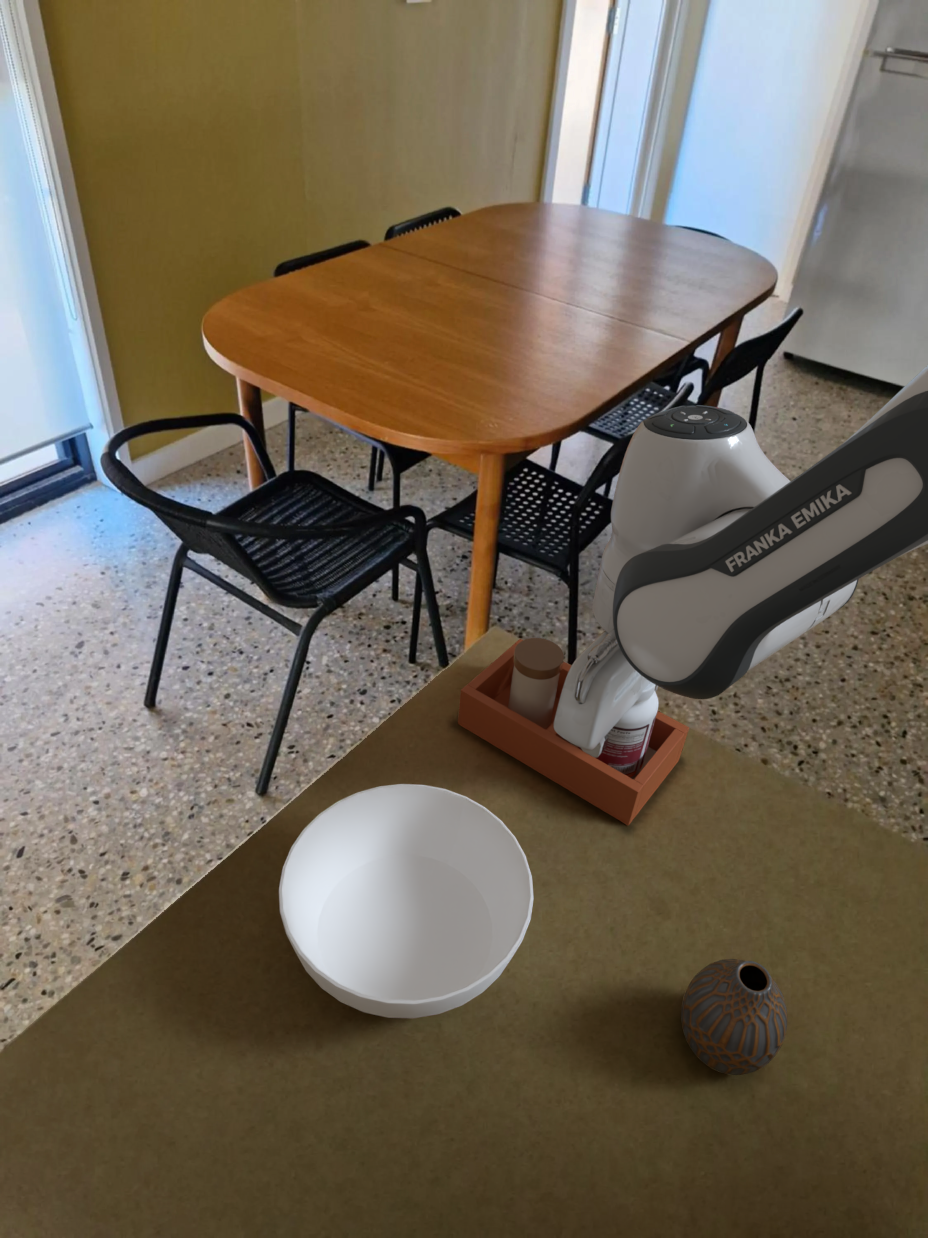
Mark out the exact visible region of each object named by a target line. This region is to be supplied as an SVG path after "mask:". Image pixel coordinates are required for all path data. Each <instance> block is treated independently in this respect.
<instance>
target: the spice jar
mask: <svg viewBox="0 0 928 1238" xmlns="http://www.w3.org/2000/svg"><path fill="white" fill-rule="evenodd" d="M522 640H523V641H521V642H520V643H519V644H518V645H517V646H516V648H515V651H514V658H513V663H514V666H513V673H512V680H511V687H510V695H509V702H508V708H509V709H510V710H512V711H514V712H516V713H517V714H519V715H521V716H523V717H524V718H526V719H528V720H530V721H531V722H533V723H535V724H537V725H538V726H540V727H542V728H544V729H545V728H547V727H548V726H549V724H550V723H551V719H552V714H553V709H554V703H555V698H556V692H557V687H558V682H559V676H560V671H561V670H562V666H563V661H565V660H564V659H565V655H564V654H565V653H564V651H563V649H562V648H561V646H559V645H558V644H557V643H556V642H555V641H552V640H549V639H548V638H543V637H529V638H526V639H522Z"/></svg>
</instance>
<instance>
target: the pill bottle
mask: <svg viewBox="0 0 928 1238" xmlns="http://www.w3.org/2000/svg"><path fill="white" fill-rule="evenodd" d="M655 686H656V685H655V684H653V683H652V682H651V683H650V684H649V685H648V686H647V687H646V688H645V689H644V690H643V691H642V693H641V696H640V697H639V699H638V700H637V701H636V702H635V703H634V704H633V706H632V707H631V708H630V709H629V710H628V711H627V712H626V713H625V715H624V716H623V717H622V718H621V719H620V720H619V721H618V722H617V723H616V725H615V726H614V727H613V728H612V729H611V730H610V731H609V732H608V733H607V735H609V739H608V742H607V747H606V748H605V749H604V751H603V752H602V753H601V754H600V755H599V756H598V757H597V758H596V759H598V760H600V761H602V762H603V763H605V764H607V765H609V766H610V767H612V768H614V769H616V770H617V771H619V772H621V773H623V774H624V775H626V776H628V777H630V778H631V779H632V778H633V777H635V776H636V775H637V774H638V773H639V771H640V770H641V767H642V765H643V762H644V758H645V755H646V751H647V748H648V744H649V740H650V737H651V733H652V729H653V726H654V722H655V718H656V715H657V711H659V697H658V694H657V691H656V692H655V691H654V690H655ZM578 748H579V749H581V748H580V747H578ZM581 750H582V749H581ZM582 751H583V750H582Z"/></svg>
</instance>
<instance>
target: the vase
mask: <svg viewBox="0 0 928 1238" xmlns="http://www.w3.org/2000/svg"><path fill="white" fill-rule="evenodd" d="M680 1009H681V1010H680V1021H681V1027H682V1031H683V1035H684V1038H685V1040H686V1042H687V1044H688V1047H689V1048H690V1049H691V1051H692V1052H693V1054H694V1055H695V1056H696V1057H697V1059H699V1060H700V1061H701V1062H702V1063H703V1064H704V1065H706V1066H707V1067H709V1068H711V1069H712V1070H714V1071H716V1072H718V1073H722V1074H726V1075H729V1076H745V1075H748V1074H751V1073H755V1072H757V1071H759V1070H761V1069H762V1068H764V1067H765V1066H767V1065H769V1063H771V1062H772V1060H773V1059H774V1058H775V1057H776V1056H777V1055H778V1053H779V1051H780V1050H781V1047H782V1046H783V1044H784V1041H785V1039H786V1035H787V1030H788V1008H787V1004H786V1000H785V997H784V995H783V993H782V990H781V988H780V987H779V985H778V984H777V982H776V981H775V979H774V978H773V977H772V976H771V974H770V973H769V971H768V970H767V968H766V967H765V966H764V965H762V964H761V963H758V962H756V961H754V960H743V959H738V958H724V959H720V960H716V961H714V962H711V963H710V964H707V965H706V966H705V967H703V968H702V969H700V970H699V971H698V972H697V973H696V974H695V975H694V976H693V977H692V979H691V980H690V982H689V984H688V986H687V987H686V990H685V992H684V994H683V998H682V1002H681V1007H680Z"/></svg>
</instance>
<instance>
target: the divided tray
mask: <svg viewBox="0 0 928 1238" xmlns="http://www.w3.org/2000/svg"><path fill="white" fill-rule="evenodd" d="M523 640H524V639H522V638H519V639H517V641H515V642H514V643H513V644H512V645H511V646H510V647H508V649H506V650H505V651H504V652H503V653H502V654H501V655H499V656H498V657H497V658H496V659H495V660H494V661H493V662H491V663H490V664H489V665H488V666H487V667H486V668H484V669H483V670H482V671H481V672H480V673H478V675H476V676H475V677H473V679H471V681H469V682H468V683H467V684H466V685H465V686H463V687H462V688H460V693H459V705H458V716H457V725H459V726H461V727H462V728H464V729H465V730H467V731H469V732H470V733H472V734H474V735H475V736H477V737H479V738H481V739H482V740H484V741H486V742H487V743H489V744H491V745H492V746H494V747H495V748H497V749H499V750H500V751H502V752H504V753H505V754H507V755H509V756H511V757H512V758H514V759H516V760H517V761H519V762H521V763H522V764H524V765H526V766H527V767H529V768H530V769H532V770H534V771H536V772H538V773H539V774H541V775H543V776H544V777H546V778H547V779H549V780H551V781H552V782H554V783H556V784H558V785H559V786H561V787H563V788H564V789H566V790H567V791H569V792H570V793H572V794H574V795H576V796H577V797H579V798H581V799H583V800H584V801H586V802H588V803H589V804H591V805H592V806H594V807H595V808H598V809H600V810H601V811H603V812H604V813H606V814H608V815H609V816H611V817H613V818H615V819H616V820H617V821H619V822H621V823H622V824H624V825H626V826H630V825H631V823H632V822H633V821H634V820H635V818H636V817H637V816H638V814H639V813H640V811H641V810H642V809H643V808H644V807H645V805H646V804H647V802H648V801H649V800H650V799H651V798H652V796H653V795H654V793H655V792H656V791H657V789H658V788H659V787H660V786H661V784H662V783H663V782H664V780H665V779H666V778H667V777H668V775H669V774H670V773H671V771H672V770H673V769H674V767H675V766H676V765H677V764H678V763H679V761H680V759H681V755H682V752H683V749H684V746H685V743H686V739H687V736H688V734H689V732H690V731H689V730H690V727H689V726H687V725H686V724H683V722H681V721H678V720H676V719H674V718H672V717H670V716H668V715H667V714H664V713H663V712H660V711H659V710H658V711H657V715H656V718H655V722H654V726H653V729H652V733H651V737H650V740H649V744H648V748H647V751H646V755H645V758H644V762H643V765H642V767H641V770H640V771H639V773H638V774H637V775H636V776H635V777H633V778H632V779H631V778H630V777H628V776H626V775H624V774H623V773H621V772H619V771H617V770H616V769H614V768H612V767H610V766H609V765H607V764H605V763H603V762H602V761H600V760H598V759H596V758H595V757H592V756H591V755H589V754H587V753H585V752H584V751H582V750H581V749H579V748H578V746H576V745H574V744H572V743H570V742H569V741H567V740H566V739H564V738H563V737H561V736H560V735H559V734H558V733H556V731H555V730H554V719H555V715H556V711H557V707H558V703H559V700H560V696H561V692H562V689H563V686H564V683H565V680H566V677H567V674H568V672H569V670H570V668H571V666H572V664H569V663H568V662H565V660H563V666H562V670H561V671H560V676H559V682H558V687H557V692H556V698H555V703H554V709H553V714H552V719H551V723H550V724H549V726H548V727H547V728H545V729H544V728H542V727H540V726H538V725H537V724H535V723H533V722H531V721H530V720H528V719H526V718H524V717H523V716H521V715H519V714H517V713H516V712H514V711H512V710H510V709H509V708H508V702H509V695H510V687H511V680H512V673H513V666H514V663H513V658H514V651H515V648H516V646H517V645H518V644H519V643H520V642H521V641H523Z"/></svg>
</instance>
